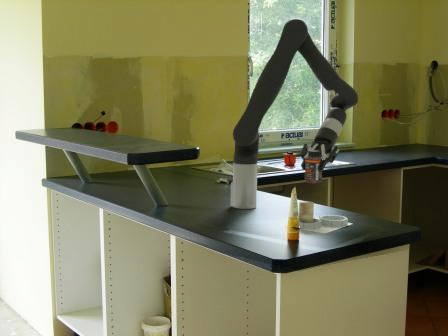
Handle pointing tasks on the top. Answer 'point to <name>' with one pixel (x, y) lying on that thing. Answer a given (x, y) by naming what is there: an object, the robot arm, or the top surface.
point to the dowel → (306, 211)
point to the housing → (325, 223)
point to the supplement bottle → (313, 167)
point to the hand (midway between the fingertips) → (311, 169)
